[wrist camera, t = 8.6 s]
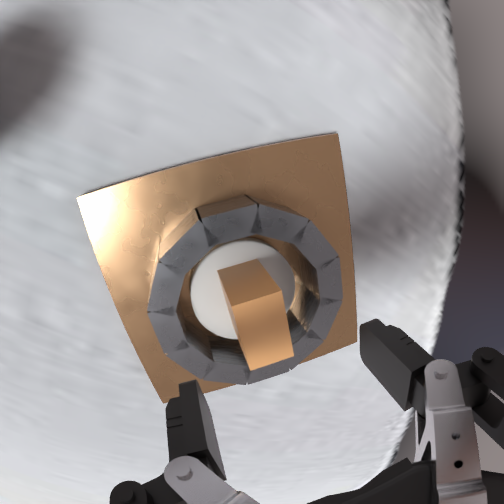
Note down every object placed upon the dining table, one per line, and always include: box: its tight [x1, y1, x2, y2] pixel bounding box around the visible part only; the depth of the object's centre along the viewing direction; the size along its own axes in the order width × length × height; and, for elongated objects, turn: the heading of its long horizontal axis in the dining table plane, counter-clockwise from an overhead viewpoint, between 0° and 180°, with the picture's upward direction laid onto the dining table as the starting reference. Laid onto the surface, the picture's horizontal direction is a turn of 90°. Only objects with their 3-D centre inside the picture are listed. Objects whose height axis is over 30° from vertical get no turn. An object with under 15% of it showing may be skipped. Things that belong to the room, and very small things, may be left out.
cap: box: [190, 237, 295, 371], centre depth 18 cm, size 6×6×6 cm
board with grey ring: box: [77, 134, 357, 403], centre depth 20 cm, size 16×16×4 cm
